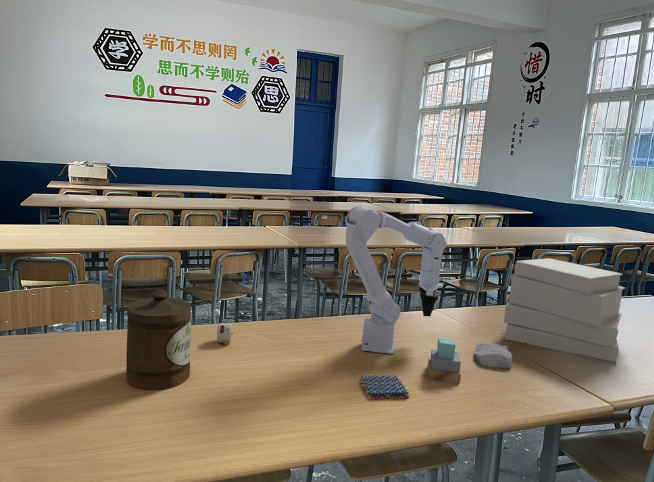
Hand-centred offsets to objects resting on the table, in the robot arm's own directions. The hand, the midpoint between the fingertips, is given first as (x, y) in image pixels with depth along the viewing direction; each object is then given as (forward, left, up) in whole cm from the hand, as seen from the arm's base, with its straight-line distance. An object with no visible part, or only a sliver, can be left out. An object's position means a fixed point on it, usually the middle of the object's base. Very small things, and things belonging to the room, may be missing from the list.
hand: (426, 312), depth 151 cm
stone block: (+20, -6, -11) cm, 23 cm away
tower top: (+5, -22, -8) cm, 24 cm away
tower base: (+4, -22, -11) cm, 25 cm away
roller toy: (-59, -18, -11) cm, 63 cm away
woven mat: (-11, -35, -11) cm, 38 cm away
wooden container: (-66, -44, -11) cm, 80 cm away
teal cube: (+4, -22, -5) cm, 23 cm away
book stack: (+46, +18, -11) cm, 51 cm away
